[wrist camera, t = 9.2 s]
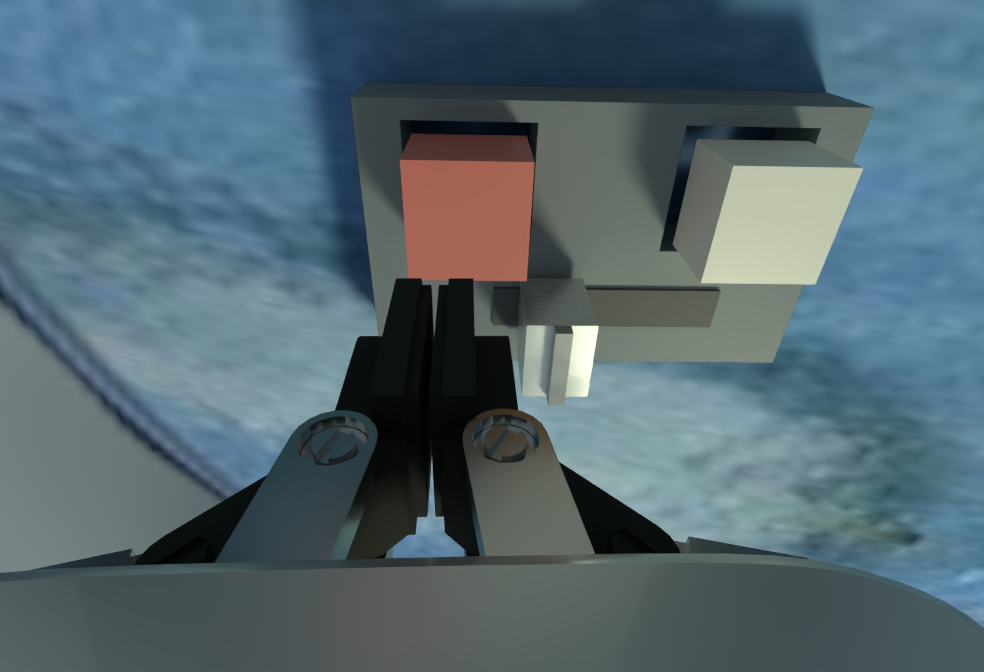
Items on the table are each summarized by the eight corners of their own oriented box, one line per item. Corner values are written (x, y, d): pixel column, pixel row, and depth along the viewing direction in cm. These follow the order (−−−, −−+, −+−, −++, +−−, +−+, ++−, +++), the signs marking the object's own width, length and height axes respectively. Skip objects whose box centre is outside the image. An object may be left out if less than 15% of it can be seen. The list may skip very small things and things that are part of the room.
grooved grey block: (520, 277, 21) (527, 333, 18) (582, 278, 21) (601, 334, 18) (516, 343, 23) (522, 404, 20) (573, 344, 23) (589, 405, 20)
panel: (366, 82, 20) (349, 97, 18) (826, 92, 21) (876, 108, 18) (390, 323, 26) (380, 361, 24) (745, 327, 27) (774, 364, 24)
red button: (411, 133, 18) (399, 159, 16) (526, 136, 18) (534, 162, 16) (417, 241, 20) (408, 279, 18) (520, 242, 21) (526, 281, 18)
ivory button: (697, 139, 19) (733, 165, 16) (808, 141, 19) (863, 168, 16) (672, 244, 21) (701, 283, 18) (772, 245, 21) (815, 284, 18)
